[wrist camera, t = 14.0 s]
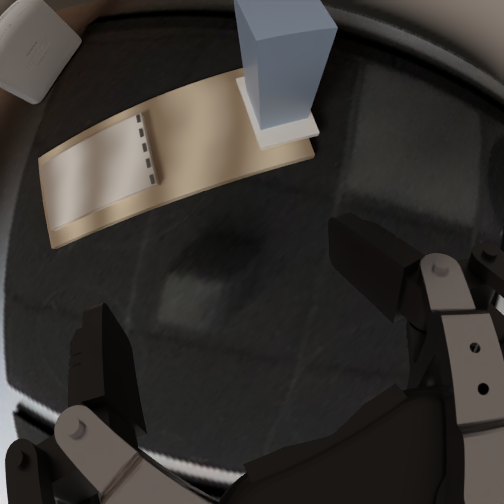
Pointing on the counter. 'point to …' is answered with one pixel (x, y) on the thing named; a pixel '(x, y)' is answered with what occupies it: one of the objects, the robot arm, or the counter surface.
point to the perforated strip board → (155, 158)
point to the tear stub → (282, 65)
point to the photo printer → (33, 49)
